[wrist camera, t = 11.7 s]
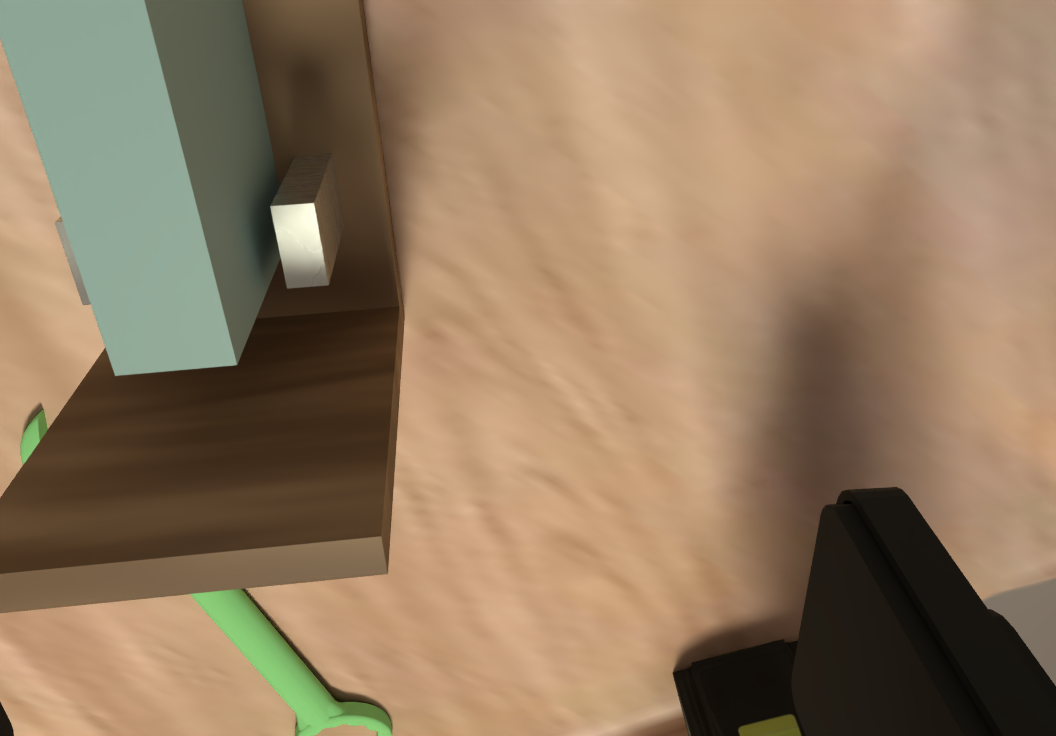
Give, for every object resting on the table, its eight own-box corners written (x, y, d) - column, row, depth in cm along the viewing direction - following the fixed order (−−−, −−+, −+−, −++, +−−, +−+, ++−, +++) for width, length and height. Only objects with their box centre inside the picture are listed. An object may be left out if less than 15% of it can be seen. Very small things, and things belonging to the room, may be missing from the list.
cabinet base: (-90, -397, 22) (-759, -749, 9) (308, -410, 22) (158, -755, 10) (139, 339, 32) (-37, 617, 20) (404, 317, 33) (387, 573, 21)
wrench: (120, 364, 34) (8, 416, 34) (103, 388, 32) (-14, 442, 33) (412, 731, 46) (325, 765, 46) (411, 763, 44) (320, 798, 45)
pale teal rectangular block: (69, -266, 22) (-130, -345, 14) (187, -271, 22) (54, -352, 14) (200, 242, 29) (114, 375, 21) (289, 235, 29) (237, 365, 21)
